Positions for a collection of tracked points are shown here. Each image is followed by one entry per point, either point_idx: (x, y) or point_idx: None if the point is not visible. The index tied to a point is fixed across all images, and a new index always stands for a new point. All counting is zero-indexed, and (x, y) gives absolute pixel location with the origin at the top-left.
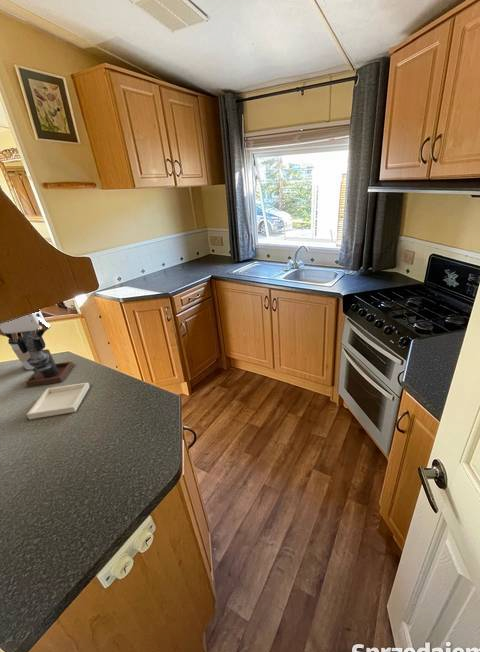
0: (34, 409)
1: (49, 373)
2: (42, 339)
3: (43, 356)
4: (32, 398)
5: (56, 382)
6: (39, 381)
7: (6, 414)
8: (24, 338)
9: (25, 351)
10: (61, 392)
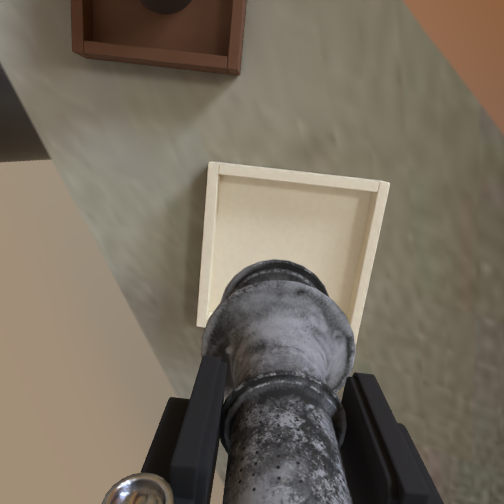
0: (209, 294)
1: (169, 2)
2: (431, 499)
3: (328, 380)
4: (154, 177)
5: (215, 72)
6: (139, 60)
7: (102, 254)
8: (195, 476)
9: (218, 445)
10: (270, 190)
